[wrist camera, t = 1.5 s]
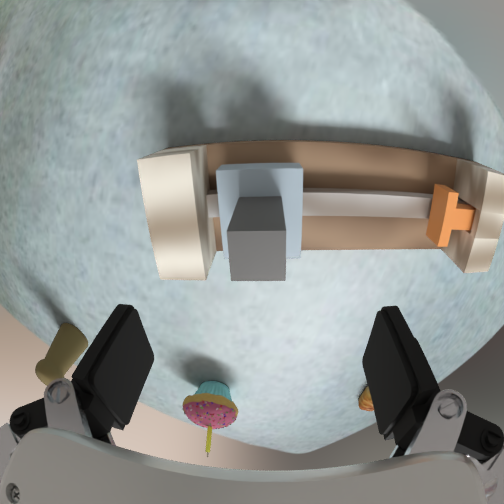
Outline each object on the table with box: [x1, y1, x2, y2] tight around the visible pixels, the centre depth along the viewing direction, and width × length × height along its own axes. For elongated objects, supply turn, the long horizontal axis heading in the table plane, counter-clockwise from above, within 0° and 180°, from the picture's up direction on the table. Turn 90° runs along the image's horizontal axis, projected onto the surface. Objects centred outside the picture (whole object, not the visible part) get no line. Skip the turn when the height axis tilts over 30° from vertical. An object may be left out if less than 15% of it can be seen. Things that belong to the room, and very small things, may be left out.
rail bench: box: [137, 140, 504, 280], centre depth 21 cm, size 10×32×6 cm, turn 93°
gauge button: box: [426, 184, 476, 247], centre depth 19 cm, size 5×6×2 cm
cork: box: [35, 323, 88, 386], centre depth 33 cm, size 6×6×11 cm
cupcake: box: [183, 381, 238, 457], centre depth 35 cm, size 9×8×12 cm
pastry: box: [358, 386, 374, 411], centre depth 38 cm, size 9×7×4 cm
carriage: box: [216, 163, 303, 281], centre depth 19 cm, size 7×6×10 cm
